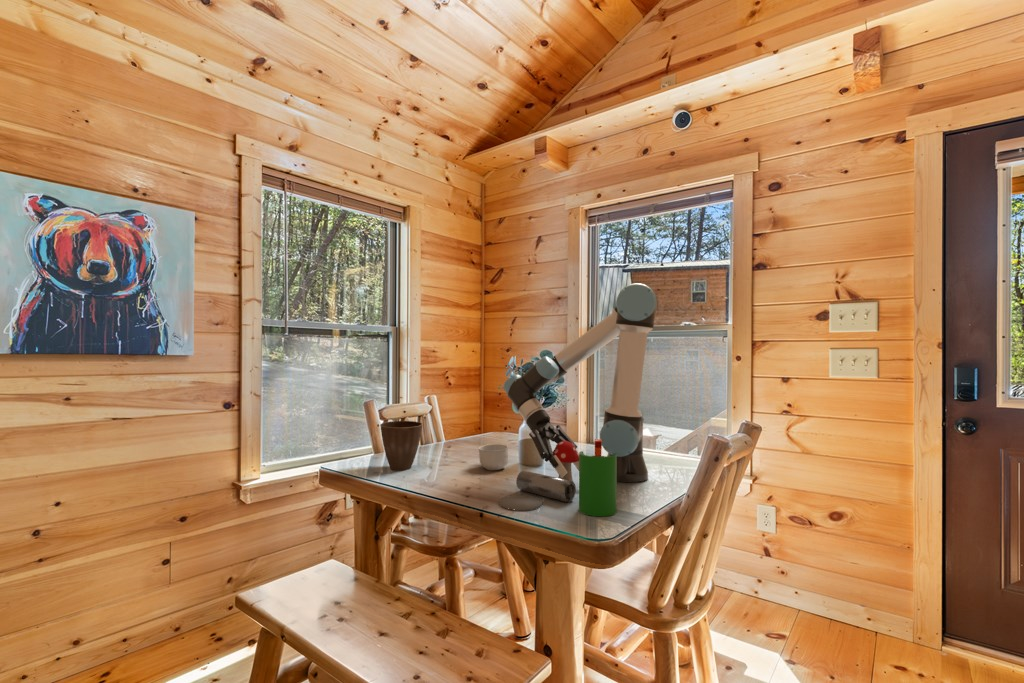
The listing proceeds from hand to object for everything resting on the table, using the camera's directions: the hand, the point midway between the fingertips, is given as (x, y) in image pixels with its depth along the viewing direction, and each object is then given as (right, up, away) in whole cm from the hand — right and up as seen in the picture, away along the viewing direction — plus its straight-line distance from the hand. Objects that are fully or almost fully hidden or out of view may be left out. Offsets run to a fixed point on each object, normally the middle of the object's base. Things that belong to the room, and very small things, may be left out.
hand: (573, 472), depth 161 cm
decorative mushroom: (-2, -6, +2) cm, 7 cm away
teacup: (-26, -6, +30) cm, 40 cm away
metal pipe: (-9, -6, -5) cm, 12 cm away
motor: (+4, -6, -19) cm, 20 cm away
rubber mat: (-17, -6, -13) cm, 22 cm away
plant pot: (-59, -6, +27) cm, 66 cm away
